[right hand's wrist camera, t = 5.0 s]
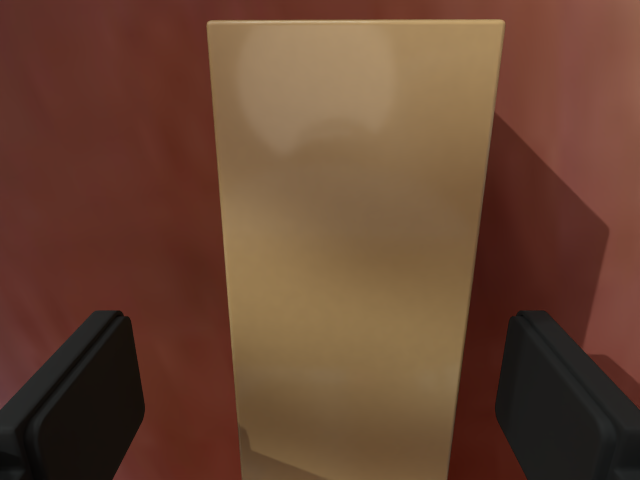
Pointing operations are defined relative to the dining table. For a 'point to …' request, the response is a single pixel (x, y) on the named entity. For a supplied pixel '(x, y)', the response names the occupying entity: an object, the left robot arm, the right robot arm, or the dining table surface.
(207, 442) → the dining table surface
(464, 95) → the post
